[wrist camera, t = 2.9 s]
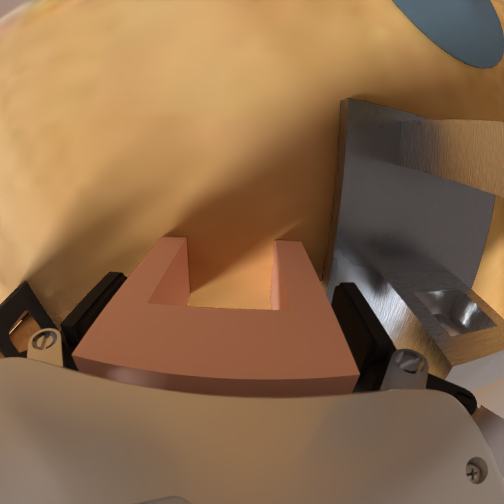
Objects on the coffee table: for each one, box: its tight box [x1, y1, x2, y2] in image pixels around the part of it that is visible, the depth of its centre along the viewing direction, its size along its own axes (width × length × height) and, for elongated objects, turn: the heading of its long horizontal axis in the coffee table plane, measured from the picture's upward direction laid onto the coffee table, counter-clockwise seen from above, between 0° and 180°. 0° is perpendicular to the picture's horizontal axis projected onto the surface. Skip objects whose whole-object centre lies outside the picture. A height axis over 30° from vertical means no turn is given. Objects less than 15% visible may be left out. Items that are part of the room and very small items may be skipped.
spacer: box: [72, 237, 360, 397], centre depth 9 cm, size 3×6×8 cm, turn 88°
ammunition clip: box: [0, 282, 60, 359], centre depth 10 cm, size 11×2×12 cm, turn 23°
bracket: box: [322, 98, 504, 392], centre depth 9 cm, size 12×10×8 cm
